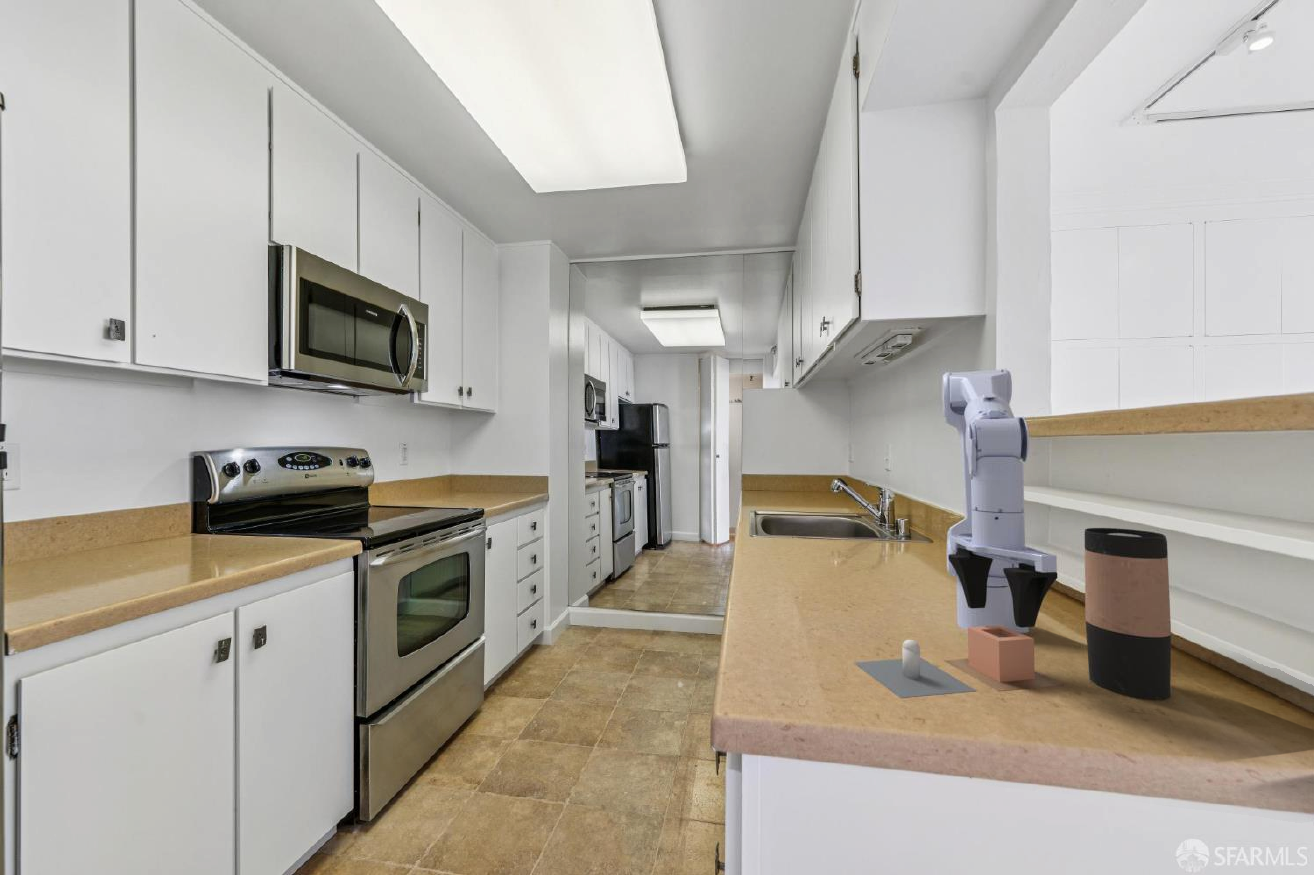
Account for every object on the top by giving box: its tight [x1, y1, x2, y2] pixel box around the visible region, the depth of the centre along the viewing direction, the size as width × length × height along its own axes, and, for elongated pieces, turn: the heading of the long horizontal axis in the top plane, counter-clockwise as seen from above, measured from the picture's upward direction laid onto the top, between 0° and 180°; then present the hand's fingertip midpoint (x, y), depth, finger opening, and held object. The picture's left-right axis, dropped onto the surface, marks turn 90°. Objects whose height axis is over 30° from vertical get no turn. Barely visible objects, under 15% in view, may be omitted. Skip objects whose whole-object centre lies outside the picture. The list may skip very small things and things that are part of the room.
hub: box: [853, 639, 978, 699], centre depth 65 cm, size 10×10×6 cm
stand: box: [944, 634, 1064, 692], centre depth 66 cm, size 9×9×6 cm
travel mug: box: [1084, 527, 1172, 701], centre depth 62 cm, size 8×8×20 cm
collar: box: [967, 625, 1036, 682], centre depth 66 cm, size 5×5×5 cm
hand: (999, 616), depth 66 cm, fingers open, 7 cm apart
